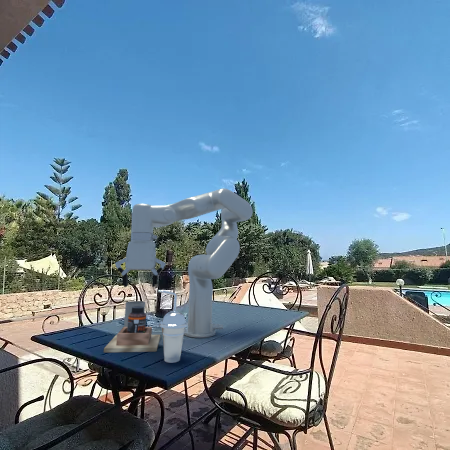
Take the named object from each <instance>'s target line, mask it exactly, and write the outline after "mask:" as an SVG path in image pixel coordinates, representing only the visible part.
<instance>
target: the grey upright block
mask: <svg viewBox="0 0 450 450" xmlns="http://www.w3.org/2000/svg"><path fill="white" fill-rule="evenodd" d="M134 306H143V307H144V313H145V314H146V312H145V311H146V302H145V301H143V300H142V301H141V300H140V301H139V300H134V301H133V300H131V301H130V300H129V301H126V302H125V310H124V322H123V323H124V325H123V327H128V316H129V314H130V313H131V312H132V307H134Z"/></svg>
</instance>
